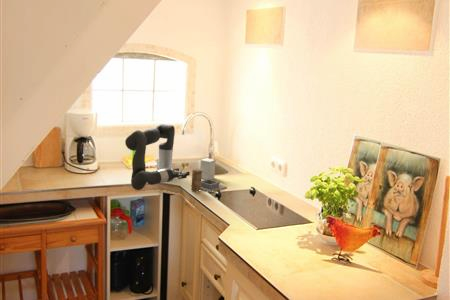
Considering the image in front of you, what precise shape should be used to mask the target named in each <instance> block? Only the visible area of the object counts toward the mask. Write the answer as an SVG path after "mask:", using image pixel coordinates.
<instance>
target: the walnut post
mask: <svg viewBox="0 0 450 300" xmlns="http://www.w3.org/2000/svg"><path fill="white" fill-rule="evenodd" d="M201 177H202V170H200V169H198V168H195V169H192V174H191V185H192V186H191V185H190V188H191V189H190V191H191V190H193V191H192V192H194V191H199V190H201V181H202V178H201ZM201 191H202V190H201ZM199 192H200V191H199Z"/></svg>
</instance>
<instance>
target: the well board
mask: <svg viewBox="0 0 450 300" xmlns="http://www.w3.org/2000/svg"><path fill="white" fill-rule="evenodd" d="M191 186H192V184H190V187H191ZM224 188H225V189H227V188H228V187H227V186H226V185H222V184H220V182H219V181H215V180H213V179H211V180H210V179H207V180H206V179H202V180H201V189H202V190H201V191H203V190H205V191H204V192H206V191H208V192H207V193H209V192H212V191H215V192H217V191H216V190H218V191H221V190H220V189H222V190H225V189H224ZM212 193H213V192H212Z"/></svg>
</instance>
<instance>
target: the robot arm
mask: <svg viewBox="0 0 450 300" xmlns="http://www.w3.org/2000/svg"><path fill="white" fill-rule="evenodd" d="M175 132H176V131H175V126H174V125H171V124H166V123H165V124H164V123H163V124H159V125H157V126H155V127H151V128H148V129H145V130H143V131H141V130H139V129H137V130H134V131H133V132H132V133H131V134H130V135H128V136H127V137H126V138H125V143H124V144H125V146H126V148H127V149H128V150H130V151H132V152H133V151H134V154H133V157H132V159H131V161H132V162H131V165H132V167H131V170H132V173H131V177H130V178H131V180H130V185H131V187H132V188H133V189H134V190H135V191H141V190H143V189H144V188H145V186H146V185H147V184H148V185H150V186H151V185H152V186H153V185H157V184H164V183H168V182H169V183H170V182H172V181H173V180H174V179H178V180H182V179H187V178H188V177H187V176H190V174H191V173H190V172H191V171H184V172H183V171H180V168H173V154H174V153H173V152H174V141H175V135H176V134H175ZM160 139H164V140H165V139H166V141H164V142H162V143H159V144H158V157H157V160H156V161H157V162H156V170H153V171H149V170H148V171H147V170H146V151H147V146H149V145H153V144H155V143H157V142H159V140H160Z"/></svg>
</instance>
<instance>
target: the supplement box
mask: <svg viewBox="0 0 450 300" xmlns="http://www.w3.org/2000/svg"><path fill="white" fill-rule="evenodd" d="M199 170H202V177H201V180H207V179H210V180H213V179H215V176H216V175H215V174H216V172H215V171H216V159H213V158H207V157H206V158H203V159H200V169H199Z"/></svg>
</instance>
